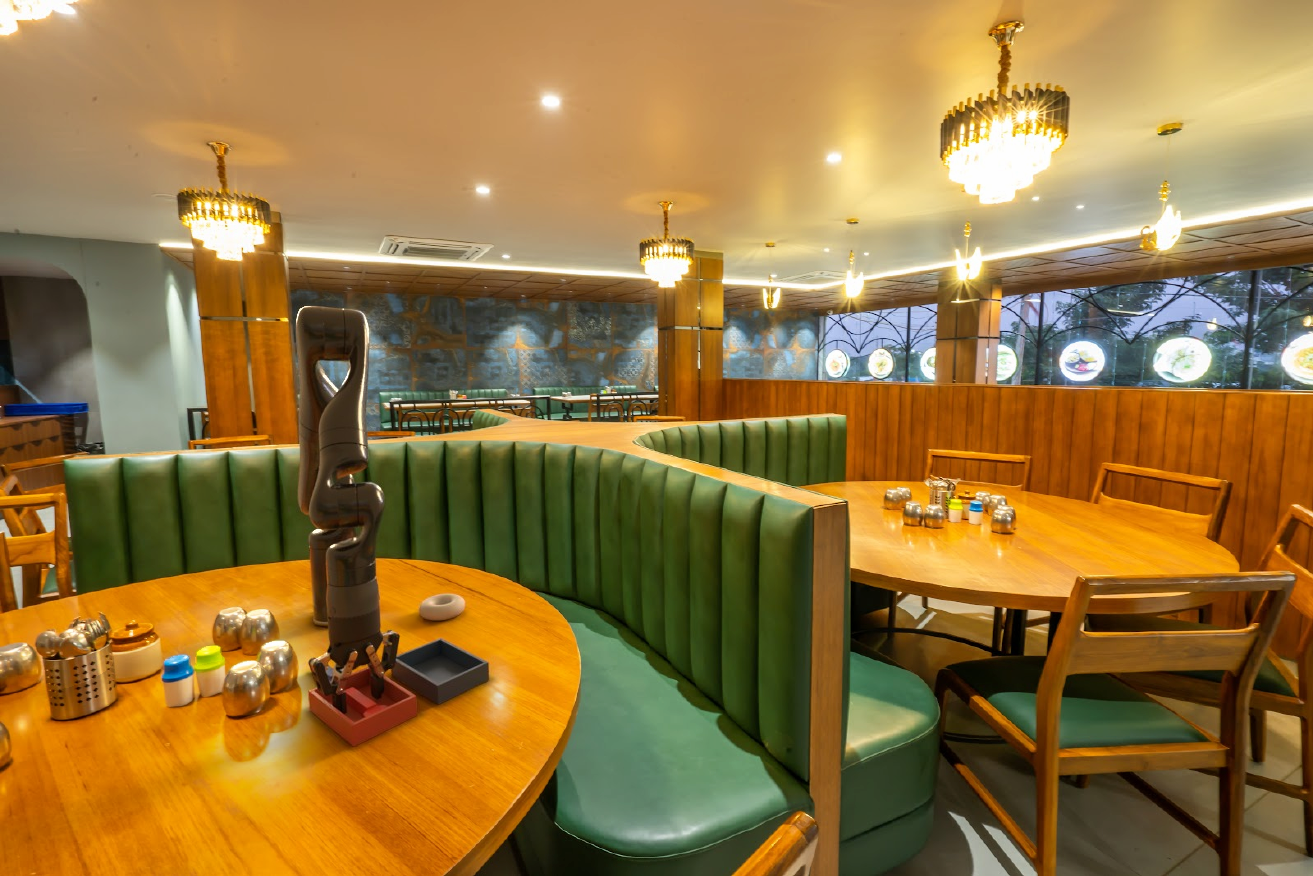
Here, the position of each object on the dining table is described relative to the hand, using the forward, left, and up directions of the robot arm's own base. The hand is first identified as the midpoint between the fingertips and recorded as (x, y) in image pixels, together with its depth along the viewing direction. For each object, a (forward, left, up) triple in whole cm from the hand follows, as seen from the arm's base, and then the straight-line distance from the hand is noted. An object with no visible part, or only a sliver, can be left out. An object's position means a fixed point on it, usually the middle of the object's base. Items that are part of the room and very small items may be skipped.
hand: (359, 704), depth 97 cm
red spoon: (+2, 0, -1) cm, 2 cm away
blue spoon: (-13, +1, -1) cm, 14 cm away
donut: (-23, +30, -1) cm, 38 cm away
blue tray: (+1, +14, -1) cm, 14 cm away
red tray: (+1, 0, -1) cm, 1 cm away
